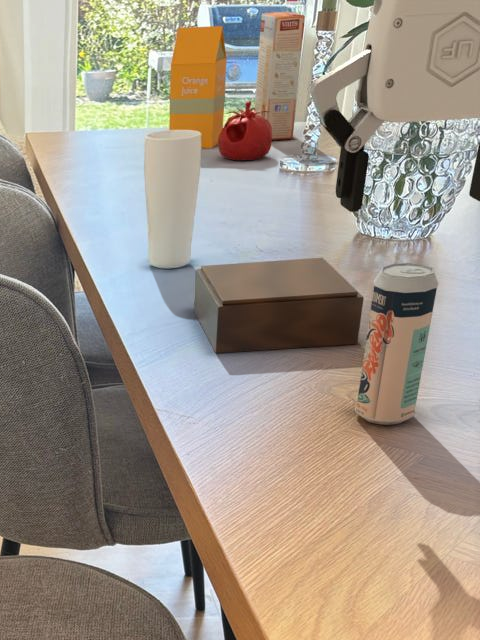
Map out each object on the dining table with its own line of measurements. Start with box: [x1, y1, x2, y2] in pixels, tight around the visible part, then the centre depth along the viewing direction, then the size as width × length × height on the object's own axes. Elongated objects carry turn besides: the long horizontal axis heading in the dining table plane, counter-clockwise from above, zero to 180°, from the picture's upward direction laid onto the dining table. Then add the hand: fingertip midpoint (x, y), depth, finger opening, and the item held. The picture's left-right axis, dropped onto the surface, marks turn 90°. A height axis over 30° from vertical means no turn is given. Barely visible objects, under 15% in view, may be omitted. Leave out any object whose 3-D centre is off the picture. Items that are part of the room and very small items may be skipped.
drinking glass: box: [143, 129, 202, 270], centre depth 122 cm, size 7×7×15 cm
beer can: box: [354, 262, 440, 426], centre depth 80 cm, size 5×5×12 cm
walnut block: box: [193, 257, 364, 354], centre depth 103 cm, size 14×14×5 cm
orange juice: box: [168, 25, 228, 149], centre depth 191 cm, size 8×9×20 cm
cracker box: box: [253, 11, 306, 141], centre depth 194 cm, size 14×6×21 cm, turn 178°
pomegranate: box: [217, 100, 273, 161], centre depth 179 cm, size 10×10×9 cm
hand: (415, 204), depth 74 cm, fingers open, 9 cm apart
